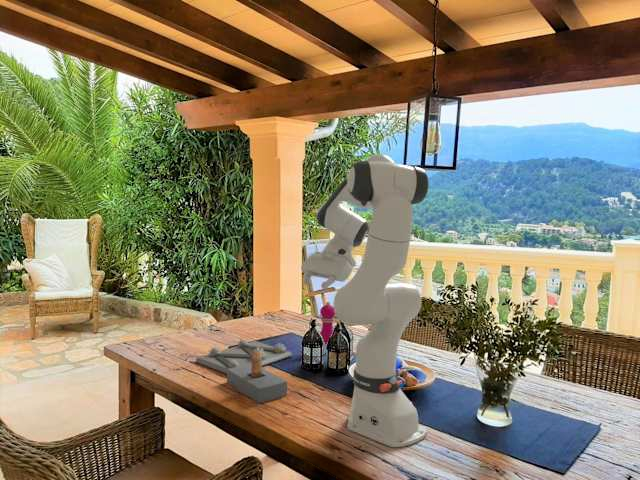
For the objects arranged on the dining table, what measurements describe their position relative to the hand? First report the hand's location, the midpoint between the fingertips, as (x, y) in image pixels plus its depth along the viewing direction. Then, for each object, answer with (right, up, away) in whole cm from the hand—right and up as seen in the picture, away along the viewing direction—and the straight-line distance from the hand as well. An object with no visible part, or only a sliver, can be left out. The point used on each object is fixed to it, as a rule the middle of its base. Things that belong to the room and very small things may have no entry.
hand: (313, 285), depth 173 cm
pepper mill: (+5, -29, +29) cm, 41 cm away
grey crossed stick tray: (-26, -30, +16) cm, 43 cm away
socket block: (-18, -32, -11) cm, 38 cm away
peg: (-18, -32, -11) cm, 38 cm away
